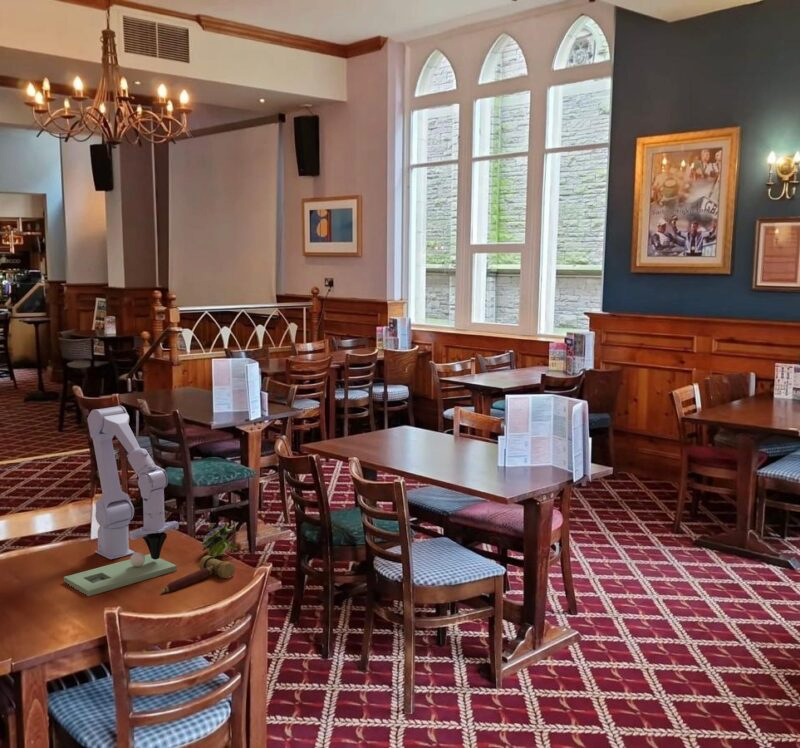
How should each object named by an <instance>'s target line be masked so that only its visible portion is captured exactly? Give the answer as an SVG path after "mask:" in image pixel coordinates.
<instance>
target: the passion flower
mask: <svg viewBox="0 0 800 748" xmlns="http://www.w3.org/2000/svg"><path fill="white" fill-rule="evenodd" d="M215 526H216V528H214V527H215ZM228 526H229V525H228V522H227V521H225V522H224V523H223V524H222V523H221V524H219V525H218V526H217V523H216V522H213V523H210V525H207V526H206V527H205V528H206V529H205V530H204V532H205V533H207V532H209V533H207V534H206V536H204V537H203V538H202V542H201V545H203V547H202V551H205V550H207V556H211V557H214V558H215V559H216V557H217V556H222V555H223V554H224V553H225V552H226V551H227V550H229V548H230V549H231V555H232V556H233V555H234V551H238V548H237V546H236V545H235V544H234V537H235V532H236V529H237V527H236V526H235V524H232V525H231V526H229V528H228ZM230 533H231V534H232V533H233V534H232V538H231V541H228V540H227V538H228V534H230Z"/></svg>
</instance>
